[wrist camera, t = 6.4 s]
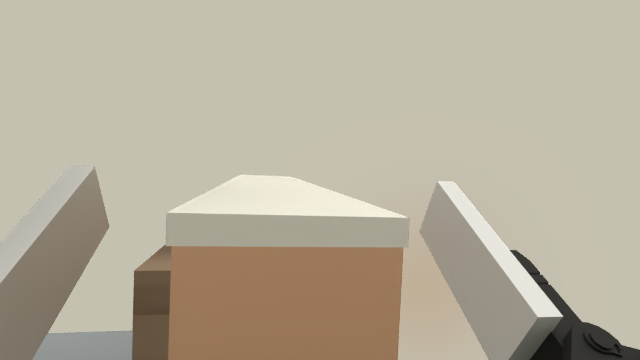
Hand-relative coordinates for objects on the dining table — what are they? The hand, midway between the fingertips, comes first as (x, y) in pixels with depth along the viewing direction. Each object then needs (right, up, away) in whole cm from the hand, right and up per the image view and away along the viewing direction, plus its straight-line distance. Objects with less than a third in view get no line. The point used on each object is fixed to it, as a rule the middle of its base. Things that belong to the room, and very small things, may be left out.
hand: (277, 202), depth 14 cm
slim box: (-1, -3, +5) cm, 6 cm away
